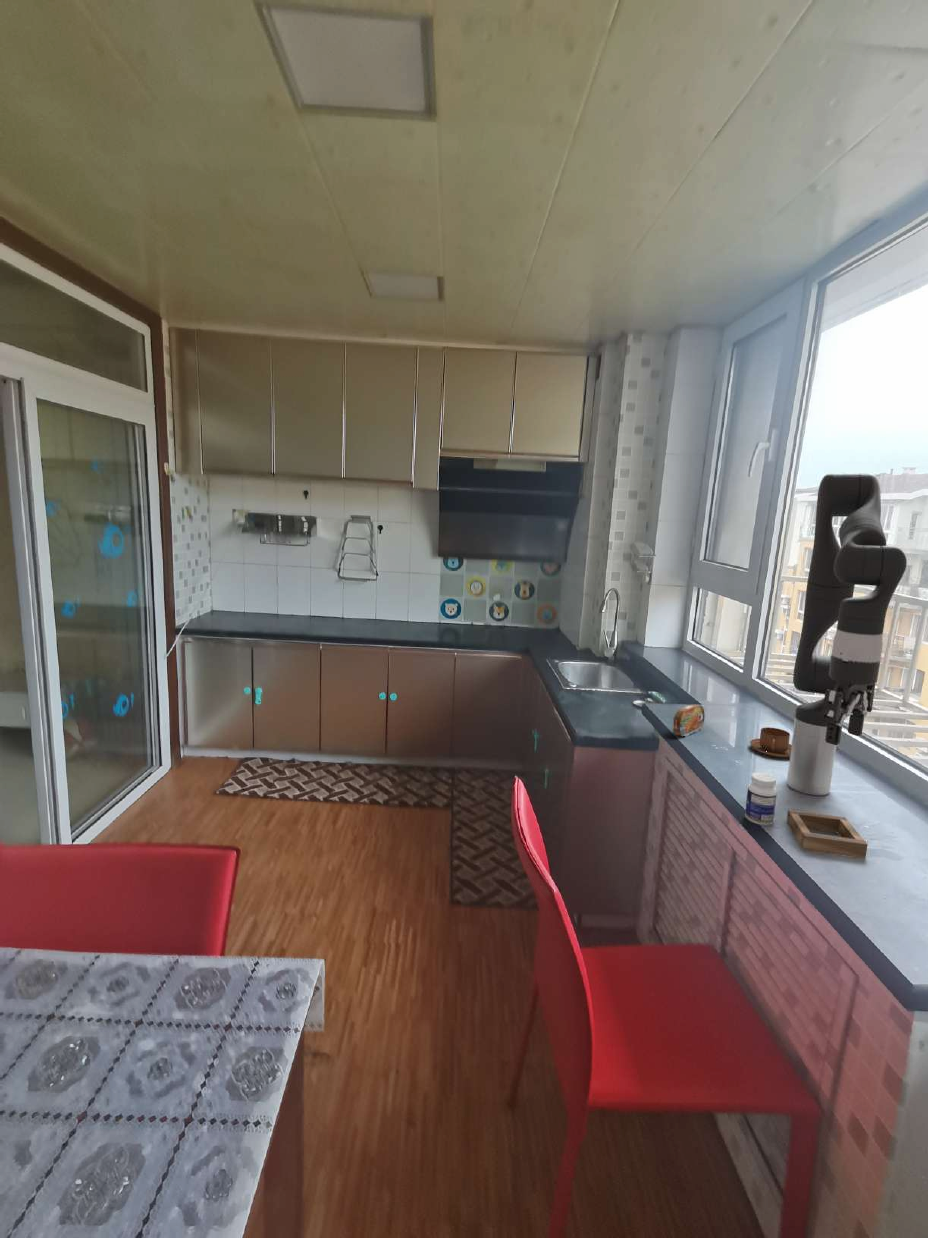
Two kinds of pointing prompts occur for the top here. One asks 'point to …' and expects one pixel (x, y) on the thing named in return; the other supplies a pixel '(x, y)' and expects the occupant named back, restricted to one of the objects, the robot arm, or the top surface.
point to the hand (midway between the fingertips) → (843, 739)
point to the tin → (688, 719)
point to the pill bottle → (761, 799)
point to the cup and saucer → (773, 742)
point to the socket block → (842, 845)
